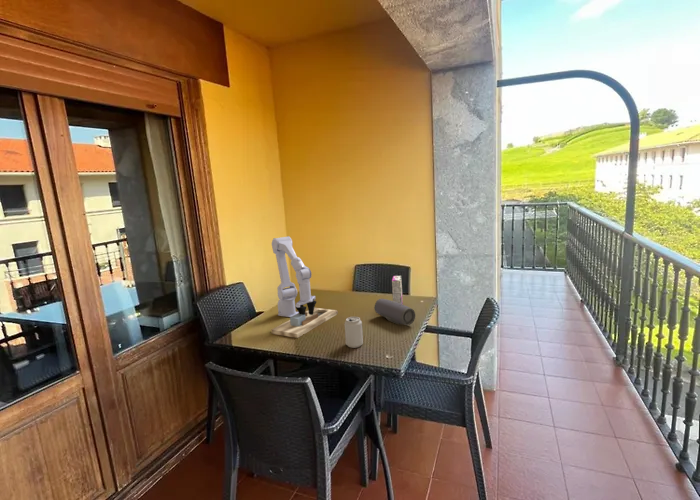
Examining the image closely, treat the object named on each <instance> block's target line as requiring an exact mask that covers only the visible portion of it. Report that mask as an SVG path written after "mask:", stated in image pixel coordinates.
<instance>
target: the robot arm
mask: <svg viewBox="0 0 700 500" xmlns="http://www.w3.org/2000/svg"><path fill="white" fill-rule="evenodd" d="M271 247H272V249H271V250H272V252H273V254H275V258H276V263H277V268H278V272H279V278H280V284H279V285H278V286H277V297H278V299H279V300H278V301H277V310H278V311H277V312H278V314H277V316H281V317H285V318H286V317H287V318H290V317H292V316H294V315H296V314H302V315H305V312H306V311H309V314H310V315H313V312H314V308H316V307H315V306H316V304H317V301H316V295H312V293H311V278H312V271H311V268H309V267H308V266H306V265H305V264H304V262H303V259H301V257H299V256H297V253H296V251H295V249H294V247H293V239H292V238H291V237H290V236H289V235H288V236H281V237H277V238H275V237H274V238H273V239H272V240H271ZM286 255H287V257H288V258H289V259H290V260H291V261H290V265H291V266H292V268H293V270H294V271H295V278H296V281H297V284H298V289H297V287H296V284H295V283H294V282H292V281H291V279H290V273H289V268H288V264H287V257H286ZM298 291H299V298H300V299H299V300H298V301H297V302H296V301H295V299H296V297H297V296H298ZM304 305H306V306H304ZM306 309H307V310H306ZM296 310H297V311H296Z"/></svg>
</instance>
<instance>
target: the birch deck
mask: <svg viewBox="0 0 700 500" xmlns="http://www.w3.org/2000/svg"><path fill="white" fill-rule="evenodd" d="M305 312H307V316H306V317H305V318H306V319H307V318H309V317H311V316H313V315H314V314H316V313H317V314H318V318H316V319H314V320H313V321H311V322H309V323H307V324H305V325H304V326H302V325H301V326H299V327H298V326H292V325H291V323H290V319H289V320H287V321H285V322H283V323H282V324H280V325H278V326H274V328H272V329H271V330H270V331H271V334H272V335H277V336H278V335H279V336H283V337H284V336H285V337H290V338H295V339H299V338H300V337H301V336H303V334H304V335H305V334H307V333H308V332H310V331H312V330H313V329H315V328H317V327H318V326H320V325H322V324H323V323H325V322H327V321H329V320H331V318H333V317H335V316H337V315H338V312H339V311H338V310H337V309H329V308H328V309H327V308H320V307H314V312H313V315H310V314H309V311H308V310H306V311H305Z"/></svg>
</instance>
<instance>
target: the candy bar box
mask: <svg viewBox="0 0 700 500" xmlns="http://www.w3.org/2000/svg"><path fill="white" fill-rule="evenodd" d="M402 284H403V283H402V275H393V276H392V279H391V289H392V291H391V292H392V301H394V302H397V303H400V304H402V305H404V301H403V285H402Z"/></svg>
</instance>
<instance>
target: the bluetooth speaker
mask: <svg viewBox="0 0 700 500" xmlns="http://www.w3.org/2000/svg"><path fill="white" fill-rule="evenodd" d="M373 308H374V311H375V313H376V314H378V315H379V316H381V317H384V318H386V320H387V321H389V322H390V323H392V324H395V325H405V326H410V325H413V323H414V322H415V319H416V312H415V309H413V308H411V307H409V306H407V305H405V304H400V303H397V302H394V301H393V300H390V299H386V298H379V299H377V300H376V301H375V304H374V307H373Z"/></svg>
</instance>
